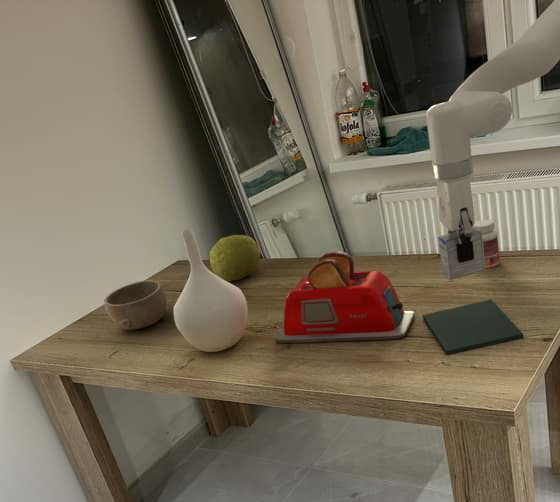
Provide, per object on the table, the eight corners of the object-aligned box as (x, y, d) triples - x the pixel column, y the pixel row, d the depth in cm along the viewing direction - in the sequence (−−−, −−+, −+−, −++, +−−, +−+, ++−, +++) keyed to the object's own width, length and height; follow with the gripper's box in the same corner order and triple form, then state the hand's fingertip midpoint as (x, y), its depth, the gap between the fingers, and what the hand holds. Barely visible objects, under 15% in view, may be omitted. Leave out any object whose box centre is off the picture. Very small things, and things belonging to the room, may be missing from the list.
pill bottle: (504, 262, 176) (501, 220, 171) (486, 270, 175) (482, 228, 170) (488, 258, 182) (484, 217, 177) (470, 266, 180) (466, 224, 175)
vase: (230, 362, 161) (195, 242, 147) (171, 359, 170) (132, 246, 157) (268, 327, 174) (239, 214, 161) (211, 326, 184) (179, 220, 170)
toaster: (416, 315, 161) (405, 239, 152) (404, 340, 151) (391, 260, 142) (292, 321, 174) (276, 251, 166) (274, 344, 164) (255, 271, 156)
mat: (491, 303, 157) (490, 299, 157) (523, 337, 139) (523, 333, 139) (423, 318, 158) (422, 315, 157) (446, 355, 140) (445, 351, 140)
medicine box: (477, 265, 145) (473, 226, 141) (486, 271, 141) (482, 231, 137) (442, 274, 145) (437, 236, 141) (450, 281, 141) (445, 241, 137)
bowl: (137, 340, 187) (125, 307, 183) (102, 332, 200) (90, 300, 195) (184, 313, 198) (173, 281, 193) (148, 307, 210) (137, 277, 205)
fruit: (232, 267, 226) (244, 225, 219) (262, 286, 218) (275, 243, 211) (196, 271, 214) (206, 226, 207) (225, 291, 207) (238, 245, 200)
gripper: (423, 166, 141) (434, 249, 149) (445, 182, 126) (456, 274, 134) (459, 157, 141) (467, 241, 149) (485, 172, 125) (493, 265, 133)
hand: (462, 256), depth 141 cm, fingers closed on medicine box, 4 cm apart
